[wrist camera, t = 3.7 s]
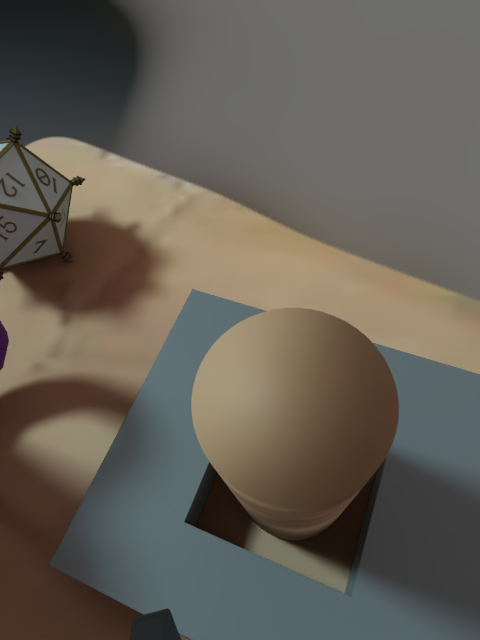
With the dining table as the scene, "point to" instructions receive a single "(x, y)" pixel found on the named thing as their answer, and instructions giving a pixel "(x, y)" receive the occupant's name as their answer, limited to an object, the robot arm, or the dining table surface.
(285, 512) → the peg
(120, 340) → the dining table surface
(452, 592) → the board
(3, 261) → the game die
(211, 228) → the dining table surface
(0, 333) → the mug
